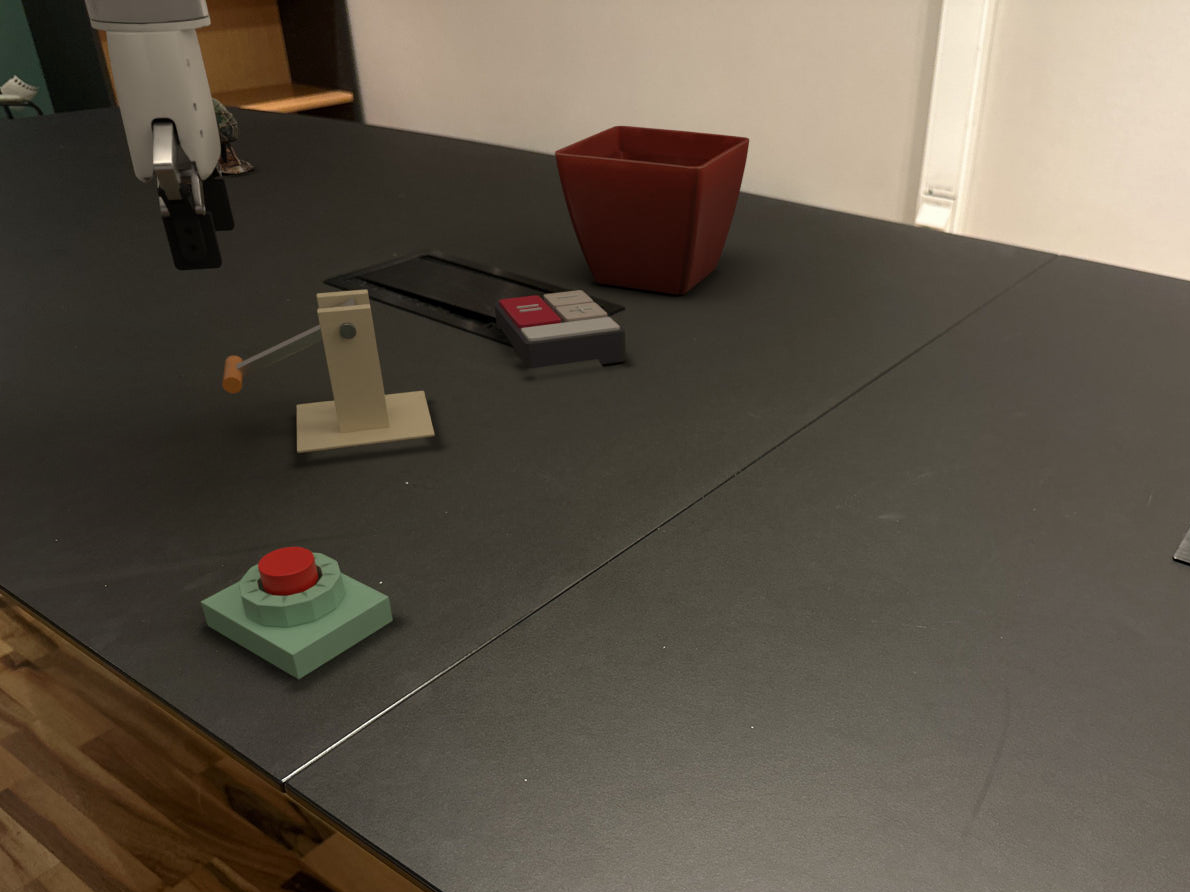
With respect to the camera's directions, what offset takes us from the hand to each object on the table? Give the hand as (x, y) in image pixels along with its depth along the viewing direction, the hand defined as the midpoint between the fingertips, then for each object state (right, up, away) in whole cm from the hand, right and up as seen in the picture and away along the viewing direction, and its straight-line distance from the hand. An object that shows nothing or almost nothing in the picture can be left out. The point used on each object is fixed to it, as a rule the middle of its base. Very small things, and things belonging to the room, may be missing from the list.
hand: (207, 248), depth 82 cm
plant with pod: (-45, +41, +99) cm, 116 cm away
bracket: (+6, -12, +18) cm, 23 cm away
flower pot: (+31, +12, +58) cm, 67 cm away
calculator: (+22, -1, +37) cm, 43 cm away
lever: (+2, -6, +13) cm, 14 cm away
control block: (+10, -29, -7) cm, 31 cm away
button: (+10, -26, -9) cm, 29 cm away
